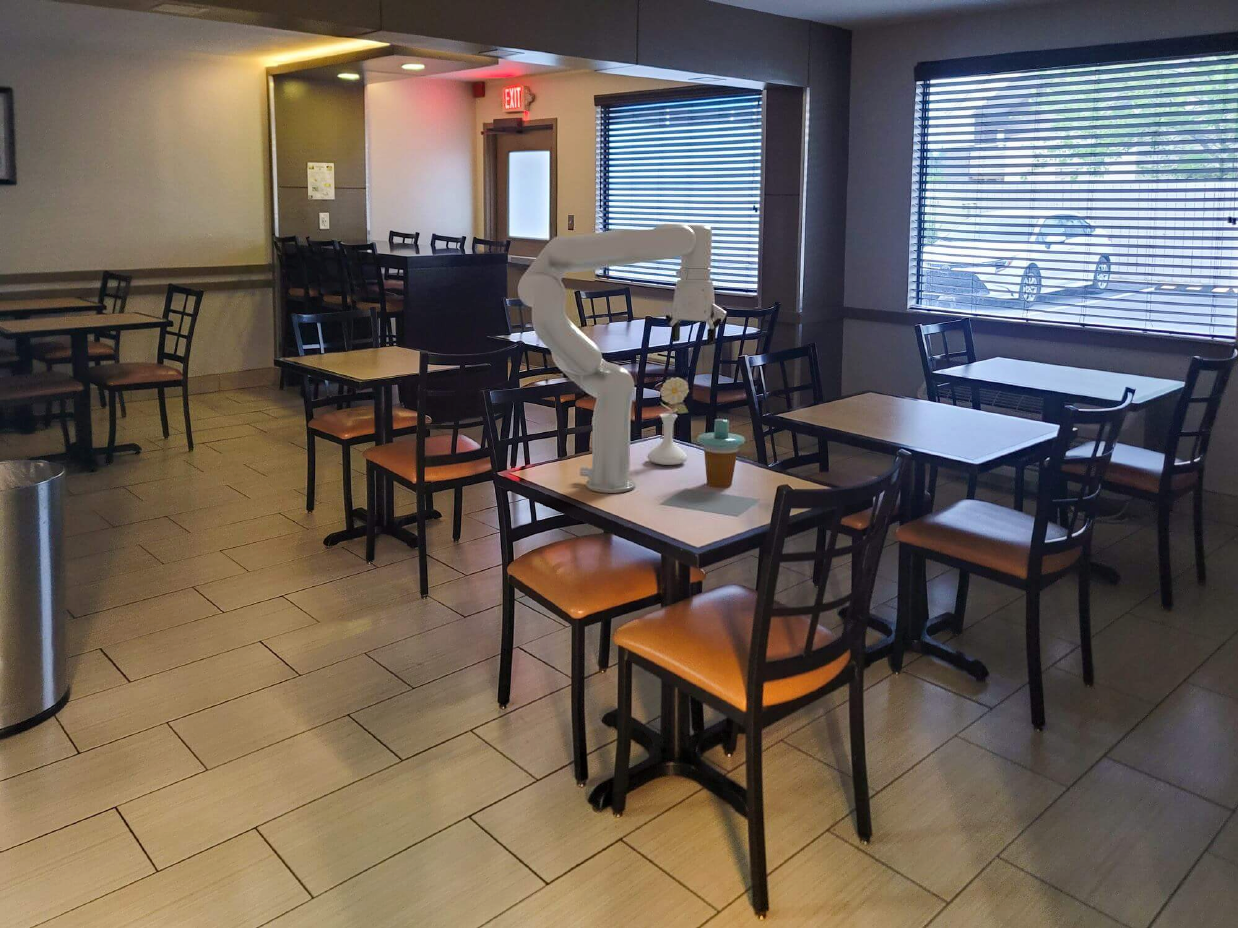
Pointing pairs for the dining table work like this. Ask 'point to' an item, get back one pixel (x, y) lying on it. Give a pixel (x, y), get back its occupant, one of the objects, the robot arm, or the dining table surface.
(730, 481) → the disposable coffee cup
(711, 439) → the lid
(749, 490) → the dining table surface
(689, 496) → the mat
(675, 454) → the flower in vase
